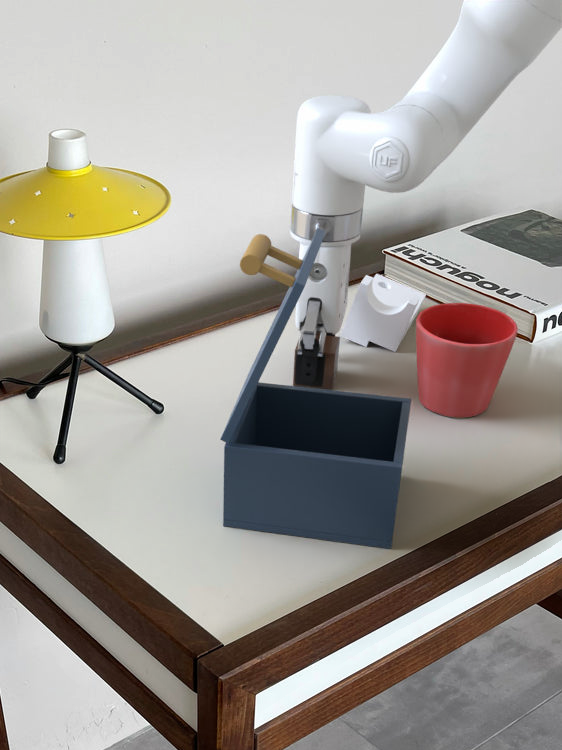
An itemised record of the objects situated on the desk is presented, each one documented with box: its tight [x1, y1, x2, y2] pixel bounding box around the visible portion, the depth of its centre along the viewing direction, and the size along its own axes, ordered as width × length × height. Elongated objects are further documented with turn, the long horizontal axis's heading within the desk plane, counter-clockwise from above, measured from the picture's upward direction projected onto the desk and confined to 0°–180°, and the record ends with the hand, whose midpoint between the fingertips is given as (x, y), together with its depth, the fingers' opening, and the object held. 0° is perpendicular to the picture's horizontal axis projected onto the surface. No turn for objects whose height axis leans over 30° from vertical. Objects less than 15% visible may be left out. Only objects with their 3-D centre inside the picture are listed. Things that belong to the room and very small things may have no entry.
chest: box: [222, 381, 412, 550], centre depth 96 cm, size 16×13×9 cm
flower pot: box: [415, 302, 519, 419], centre depth 111 cm, size 11×11×10 cm
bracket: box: [339, 273, 427, 353], centre depth 128 cm, size 13×7×8 cm, turn 157°
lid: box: [220, 228, 326, 444], centre depth 90 cm, size 16×13×6 cm
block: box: [292, 335, 341, 390], centre depth 118 cm, size 5×5×5 cm
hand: (314, 365), depth 118 cm, fingers open, 9 cm apart
